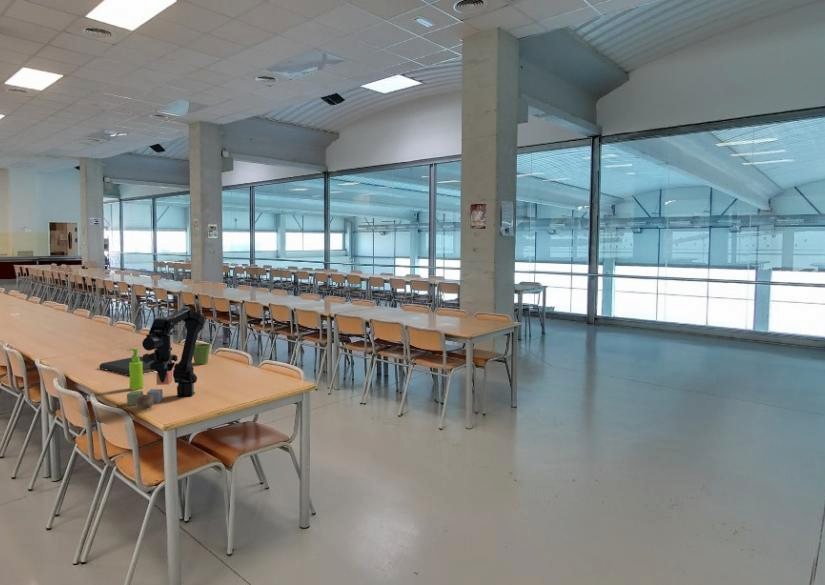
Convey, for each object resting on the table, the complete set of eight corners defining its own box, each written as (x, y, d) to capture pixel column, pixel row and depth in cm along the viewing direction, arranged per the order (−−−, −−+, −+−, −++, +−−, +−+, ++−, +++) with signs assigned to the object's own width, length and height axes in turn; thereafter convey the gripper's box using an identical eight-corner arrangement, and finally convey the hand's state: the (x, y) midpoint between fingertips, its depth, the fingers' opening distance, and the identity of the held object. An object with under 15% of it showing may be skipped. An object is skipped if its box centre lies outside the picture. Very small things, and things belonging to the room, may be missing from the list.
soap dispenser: (132, 386, 270) (131, 347, 268) (145, 387, 270) (144, 347, 268) (125, 389, 264) (123, 349, 263) (138, 390, 264) (137, 350, 262)
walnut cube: (153, 405, 240) (152, 394, 240) (149, 408, 235) (148, 397, 235) (141, 405, 239) (141, 394, 239) (137, 409, 235) (136, 398, 234)
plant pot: (215, 362, 328) (215, 343, 327) (204, 366, 317) (204, 347, 316) (197, 361, 330) (197, 342, 329) (186, 365, 319) (185, 346, 318)
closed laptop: (173, 362, 310) (132, 371, 290) (173, 369, 310) (132, 378, 290) (139, 355, 327) (99, 363, 307) (139, 362, 328) (99, 370, 307)
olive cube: (143, 401, 245) (142, 391, 245) (139, 405, 240) (138, 394, 240) (131, 402, 245) (131, 391, 244) (127, 405, 240) (126, 394, 239)
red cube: (172, 381, 243) (171, 370, 242) (168, 384, 238) (168, 373, 237) (160, 381, 242) (160, 370, 242) (156, 384, 237) (156, 373, 237)
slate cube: (162, 399, 249) (162, 389, 248) (158, 402, 244) (158, 392, 243) (151, 400, 248) (151, 389, 248) (147, 403, 243) (147, 392, 243)
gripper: (151, 342, 247) (153, 376, 248) (136, 350, 228) (137, 386, 230) (177, 342, 248) (178, 375, 249) (163, 350, 230) (164, 386, 231)
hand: (164, 380), depth 240 cm, fingers closed on red cube, 5 cm apart
